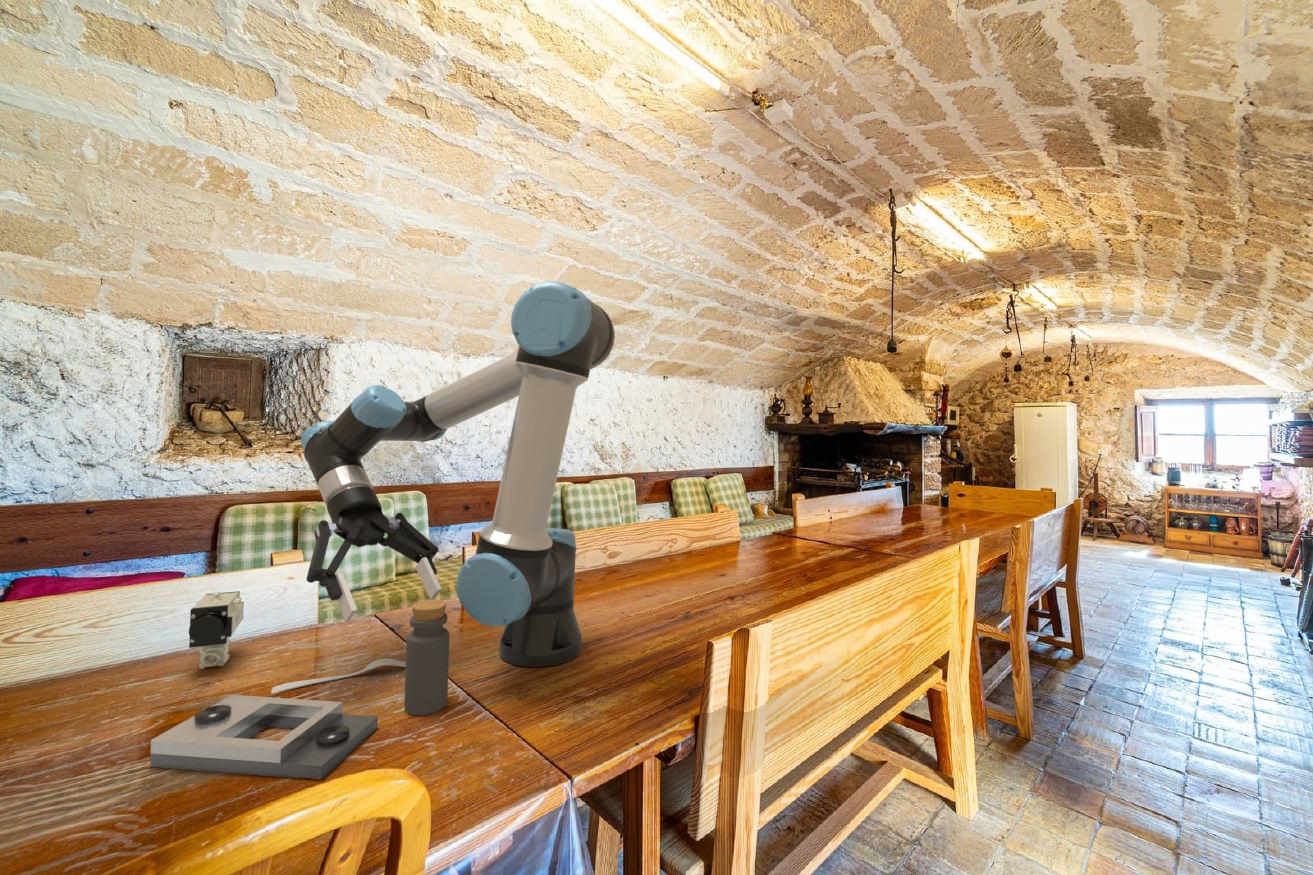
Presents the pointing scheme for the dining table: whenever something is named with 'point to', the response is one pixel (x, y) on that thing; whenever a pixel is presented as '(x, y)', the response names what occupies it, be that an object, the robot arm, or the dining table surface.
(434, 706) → the bottle
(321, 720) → the grey slotted fixture base
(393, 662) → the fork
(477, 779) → the dining table surface
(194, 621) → the pneumatic valve
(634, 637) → the dining table surface
